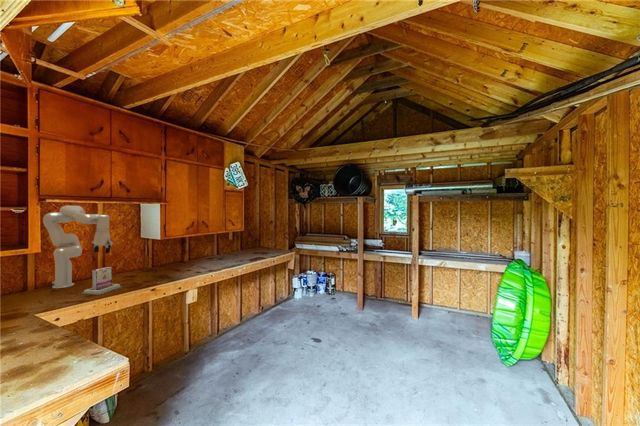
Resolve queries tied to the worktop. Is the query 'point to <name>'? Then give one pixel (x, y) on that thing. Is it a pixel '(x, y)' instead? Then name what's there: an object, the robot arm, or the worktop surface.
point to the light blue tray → (101, 290)
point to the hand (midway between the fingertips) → (102, 252)
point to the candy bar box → (102, 278)
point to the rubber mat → (103, 292)
